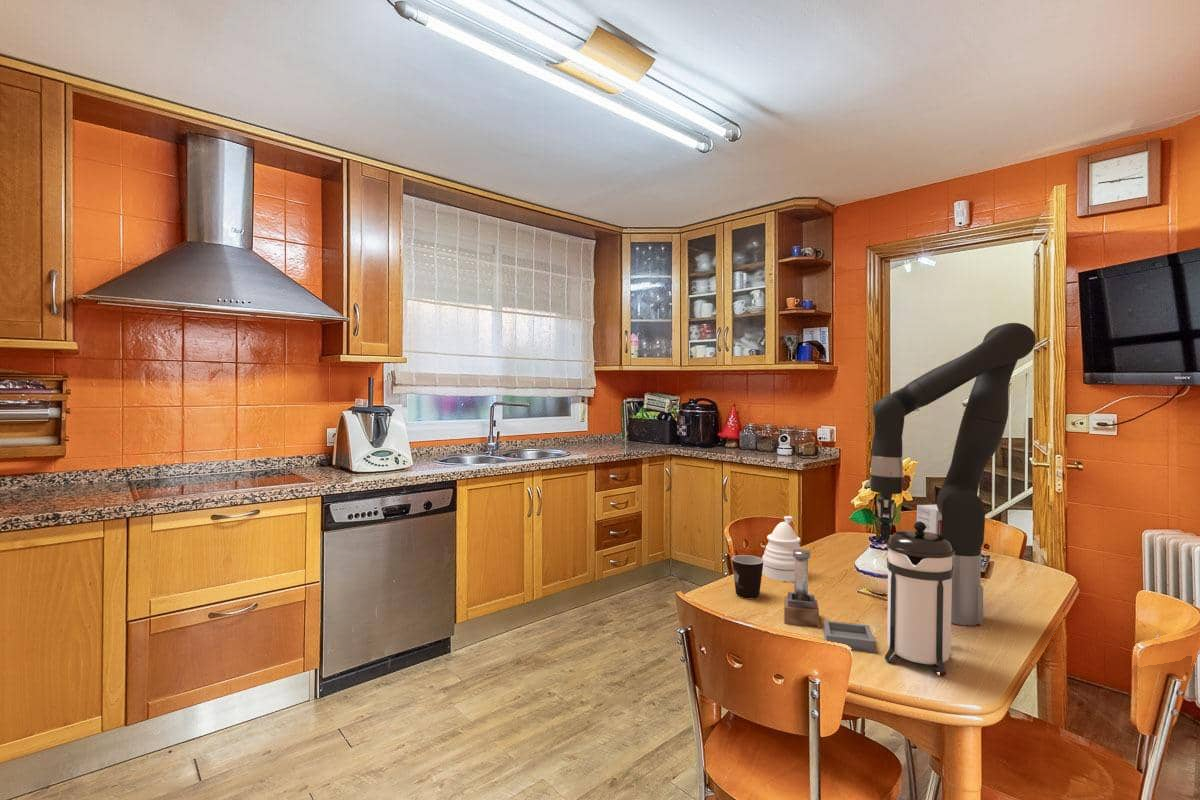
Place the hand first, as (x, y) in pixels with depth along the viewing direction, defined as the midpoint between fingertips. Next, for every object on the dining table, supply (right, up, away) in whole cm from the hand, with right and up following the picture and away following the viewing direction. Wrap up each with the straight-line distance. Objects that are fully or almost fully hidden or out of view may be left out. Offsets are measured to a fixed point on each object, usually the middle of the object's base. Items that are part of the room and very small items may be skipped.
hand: (885, 536), depth 150 cm
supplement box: (+44, -19, +52) cm, 70 cm away
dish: (-16, -20, -16) cm, 31 cm away
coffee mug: (-32, -20, +15) cm, 40 cm away
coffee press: (-5, -21, -24) cm, 32 cm away
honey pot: (-17, -19, +30) cm, 40 cm away
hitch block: (-23, -20, -3) cm, 31 cm away
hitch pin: (-23, -16, -4) cm, 28 cm away
